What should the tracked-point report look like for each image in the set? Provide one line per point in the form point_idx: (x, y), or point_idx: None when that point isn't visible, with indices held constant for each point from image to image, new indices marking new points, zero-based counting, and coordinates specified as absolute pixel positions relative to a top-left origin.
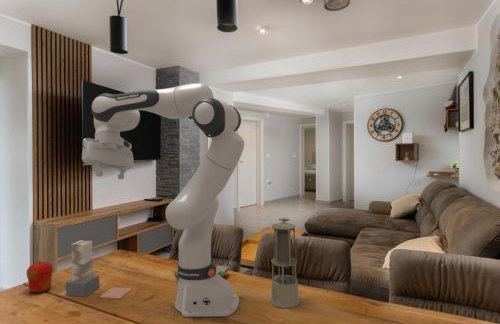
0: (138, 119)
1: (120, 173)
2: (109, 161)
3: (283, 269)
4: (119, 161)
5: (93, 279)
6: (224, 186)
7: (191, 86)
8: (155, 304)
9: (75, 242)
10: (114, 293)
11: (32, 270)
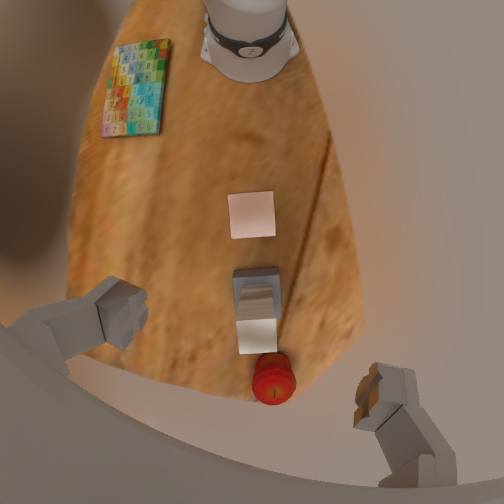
0: None
1: (87, 344)
2: (271, 501)
3: None
4: (35, 423)
5: (251, 276)
6: None
7: None
8: (272, 113)
9: (260, 352)
10: (256, 215)
11: (294, 386)
